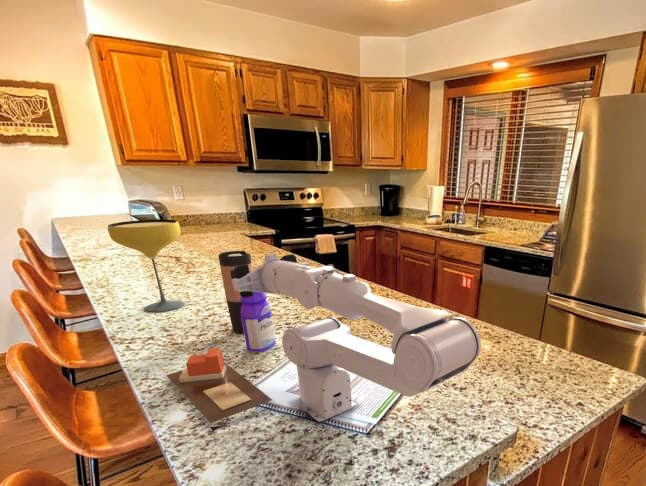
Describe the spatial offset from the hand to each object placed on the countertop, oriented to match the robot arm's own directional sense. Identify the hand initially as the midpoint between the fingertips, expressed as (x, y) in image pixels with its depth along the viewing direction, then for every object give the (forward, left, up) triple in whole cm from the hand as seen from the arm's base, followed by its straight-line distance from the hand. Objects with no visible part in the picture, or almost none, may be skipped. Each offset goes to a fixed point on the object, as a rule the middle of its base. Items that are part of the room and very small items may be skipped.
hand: (251, 271), depth 82 cm
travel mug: (+27, -8, -22) cm, 36 cm away
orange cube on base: (+4, +12, -20) cm, 23 cm away
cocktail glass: (+64, +2, -22) cm, 68 cm away
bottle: (+10, -4, -22) cm, 24 cm away
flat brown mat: (-3, +12, -21) cm, 25 cm away
